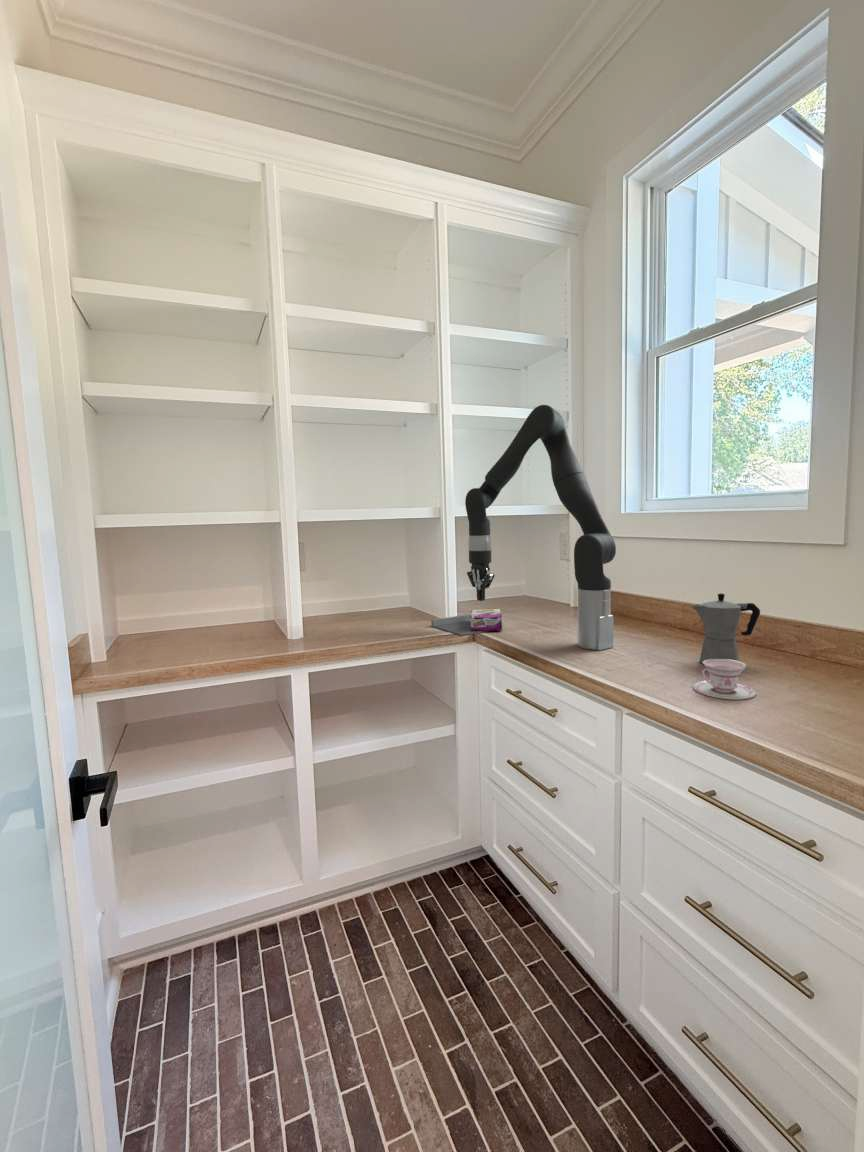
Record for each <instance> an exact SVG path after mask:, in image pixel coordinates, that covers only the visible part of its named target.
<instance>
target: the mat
mask: <svg viewBox="0 0 864 1152" xmlns="http://www.w3.org/2000/svg"><path fill="white" fill-rule="evenodd" d="M470 615H471V614H462V615H455V616H449V617H441V618H436V619H431V621H430V622H431V628H434V629H438V630H441V631H445V632H448V633H450V634H454V635H457V636H459V637H464V636H470V635H475V634H482V633H487V631H470Z"/></svg>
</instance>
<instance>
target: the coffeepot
mask: <svg viewBox="0 0 864 1152" xmlns="http://www.w3.org/2000/svg"><path fill="white" fill-rule="evenodd" d="M725 597H726V594H724V593H717V599H718V600H713V601H707V602H702V603H699V604H694V605H692V607H691V608H692V609H694V610H695V611H696V613H697V615H698V616H699V617H700V620H702V626H703V630H704V631H705V634H704V638H703V643H702V648H701V652H700V655H699V662H700V663H701V664H702V665H704V664H703V661H705V660H709V659H728V660H735V661H740V657H739V651H738V644H737V639H736V632H737V630H738V625H739V620H740V616H741V612H747V611H751V614H750V618H749V622H748V623H747V626H746V630H745V631H740V634H741V636H751V634H752V633H753V630H754V627H755V626H756V624H757V621H758V619H759V617H760V615H761V610H760V608H759V607H758V606H757V605H756V604H755V603H752V602H742V603H741V602H739V603H733V602H730V601H726V600H725Z"/></svg>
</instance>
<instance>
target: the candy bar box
mask: <svg viewBox="0 0 864 1152" xmlns="http://www.w3.org/2000/svg"><path fill="white" fill-rule="evenodd" d="M469 615H470V631H488V632H492V631H493V632H497V631H500V632H501V631H503V614H502V609H501V608H487V609H486V608H485V609H484V608H483V609H482V608H481V609H479V608H478V609H476V608H475V609H471V610H470V614H469Z"/></svg>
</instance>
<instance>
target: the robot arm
mask: <svg viewBox="0 0 864 1152" xmlns="http://www.w3.org/2000/svg"><path fill="white" fill-rule="evenodd" d="M539 439H540V440H541V442H542V443H543V446H544V448H545V449H546V452H547V454H548V457H549V461H550V471H551V472H550V473H551V480H552V483H553V487H554V490H555V491H556V494H557V496H558V498H559V500H560V502H561V504H562V505H563V507H564V508H565V509H566V510H567V512H569V513H570V514H571V516H573V518H574V519H575V520H576V521H577V523H578V524H579V526H580V528H581V530H582V534H583V535H581V536H580V537H579V538H577V539H576V541H575V544H574V548H573V563H574V566H573V567H574V578H575V581H576V582H577V646H578V647H579V648H582V649H586V650H596V651H601V650H608V649H610V648H614V621H615V620H614V615H613V614H611V613H612V612H611V609H612V608H611V607H612V605H611V603H612V602H611V601H612V600H611V599H612V595H611V594H612V592H611V591H612V589H611V588H612V583H611V582H612V581H611V579H610V578H609V577H607V576H606V575H605V573H604V565H605V564H608V563H611V562H612V561H613V560H614V559H615V556H616V553H617V552H616V551H617V548H616V543H615V540H614V538H613V536H612V534H611V532H610V530H609V529H608V527H607V524H606V523H605V521H604V519H603V517H602V515H601V513H600V511H599V507H598V506H597V503H596V500H595V498H594V496H593V494H592V492H591V488H590V486H589V483H588V480H587V478H586V475H585V473H584V470H583V469H582V466H581V464H580V462H579V460H578V458H577V456H576V454H575V451H574V450H573V448H572V445H571V443H570V439H569V435H568V431H567V428H566V424H565V421H564V418H563V416H562V415H561V414H560V412H559V411H557V410H556V409H555V408H553V406H552V407H551V406H550V405H548V404H541V405H538V406H536V407H534V408H533V409H532V411H531V412H530V413H528V416H527V418H526V419H525V421H524V422H523V424H522V426H521V428H520V429H519V430H518V432H517V433H516V435H515V437H514V438H513V440H512V441H511V442H510V444H509V445H508V447H507V448H506V450H505V451H504V453H503V454H502V455H501V456H500V457H499V459H498V460H497V461H496V462H495V463H494V464H493V466H492V467H491V468H490V469H489V471H488V472H487V473H486V474H485V476H484V481H483V483H482V484H481V485H480V487H478V488H477V487H475V488H471V489H469V490H468V492H467V493H466V496H465V502H464V504H465V510H466V511H465V512H466V515H467V519H468V563H469V564H471V566H470V570H469V571H467V572H466V575H467V578H468V579H469V581H470V583H471V586H472V588H475V590H476V599H477V601H480V602H483V601H485V600H486V590H487V589H488V588H490V586H491V585H492V583H493V581H494V579H495V576H496V575H495V573H492V572H491V568H490V564H491V563H492V539H491V522H490V519H489V518H488V516H487V512H486V511H487V510H486V509H488V508H490V507H491V505H492V504H494V502H495V500H496V499H497V497H498V496H499V494H500V493H501V491H502V489H503V488H505V486H506V485H507V484H508V483H509V482H510V481H511V480H512V479H513V478H514V476H515V475H516V473H517V471H518V470H519V469H520V467H521V464H522V462H523V460H524V458H525V456H526V455H527V453H528V451H529V450H530V449H531V447H532V446H533V445H534V444H535V443H536V442H537V441H538V440H539Z"/></svg>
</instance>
